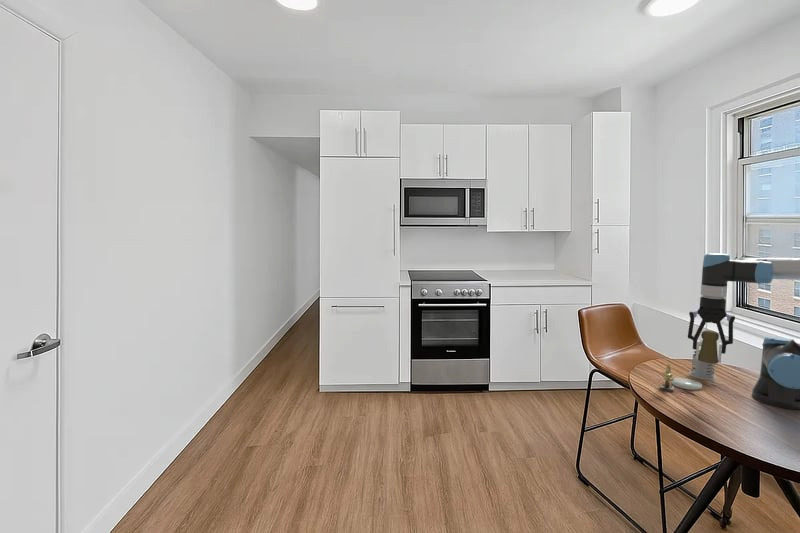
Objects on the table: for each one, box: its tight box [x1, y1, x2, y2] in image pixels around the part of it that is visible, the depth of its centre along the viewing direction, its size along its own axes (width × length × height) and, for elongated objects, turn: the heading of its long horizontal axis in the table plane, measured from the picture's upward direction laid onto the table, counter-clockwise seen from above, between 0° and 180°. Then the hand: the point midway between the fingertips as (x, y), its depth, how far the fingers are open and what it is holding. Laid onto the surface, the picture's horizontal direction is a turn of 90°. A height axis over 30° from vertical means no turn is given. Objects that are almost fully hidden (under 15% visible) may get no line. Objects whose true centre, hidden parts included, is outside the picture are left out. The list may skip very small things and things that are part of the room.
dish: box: [671, 377, 703, 391], centre depth 176 cm, size 10×10×1 cm
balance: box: [659, 363, 675, 393], centre depth 172 cm, size 4×12×11 cm, turn 145°
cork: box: [698, 329, 720, 364], centre depth 161 cm, size 6×6×11 cm
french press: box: [688, 323, 717, 381], centre depth 187 cm, size 10×12×25 cm
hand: (708, 359), depth 162 cm, fingers closed on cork, 6 cm apart
